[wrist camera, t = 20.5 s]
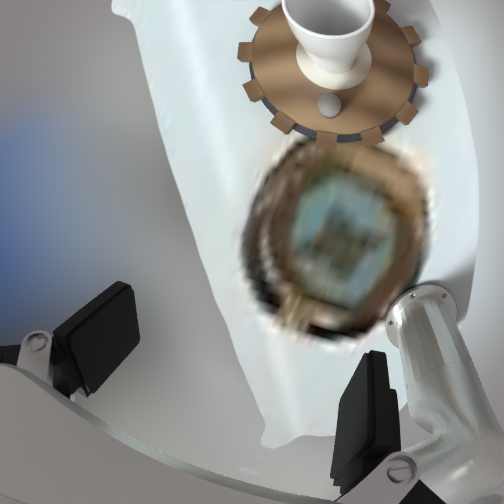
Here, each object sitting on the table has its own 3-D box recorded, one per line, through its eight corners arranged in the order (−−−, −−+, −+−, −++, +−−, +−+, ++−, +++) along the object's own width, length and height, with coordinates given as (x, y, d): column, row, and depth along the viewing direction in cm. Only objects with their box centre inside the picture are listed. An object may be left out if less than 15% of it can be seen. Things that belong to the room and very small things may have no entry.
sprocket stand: (445, 97, 27) (456, 93, 23) (314, 173, 36) (311, 177, 32) (338, -30, 23) (337, -44, 19) (215, 43, 32) (203, 36, 29)
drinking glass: (331, 23, 25) (324, -43, 11) (372, 60, 25) (395, 9, 12) (291, 54, 28) (260, 1, 14) (332, 92, 28) (330, 57, 15)
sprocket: (414, 166, 31) (432, 172, 24) (235, 136, 36) (214, 137, 29) (422, 7, 21) (435, -14, 15) (250, -14, 26) (234, -36, 20)
